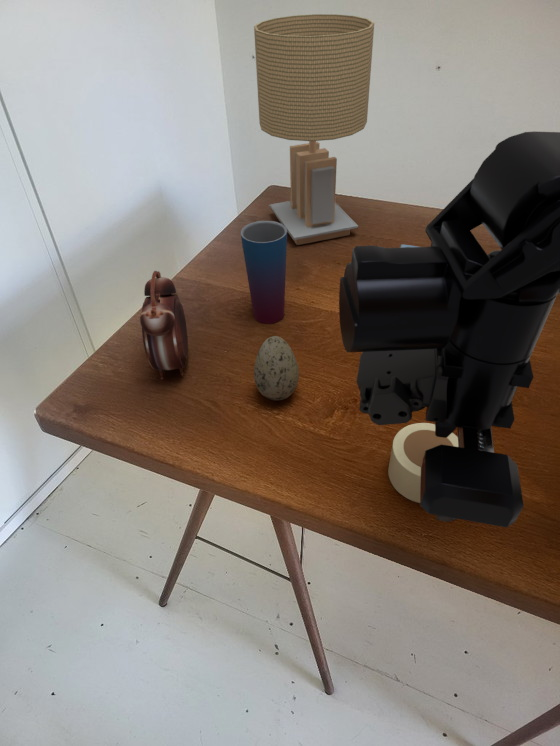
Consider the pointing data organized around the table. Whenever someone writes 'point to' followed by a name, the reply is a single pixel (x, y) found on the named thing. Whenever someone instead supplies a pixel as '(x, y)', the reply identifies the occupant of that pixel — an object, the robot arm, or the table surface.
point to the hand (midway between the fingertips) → (441, 474)
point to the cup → (266, 268)
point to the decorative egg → (276, 369)
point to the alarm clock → (163, 325)
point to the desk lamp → (313, 108)
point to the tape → (413, 456)
